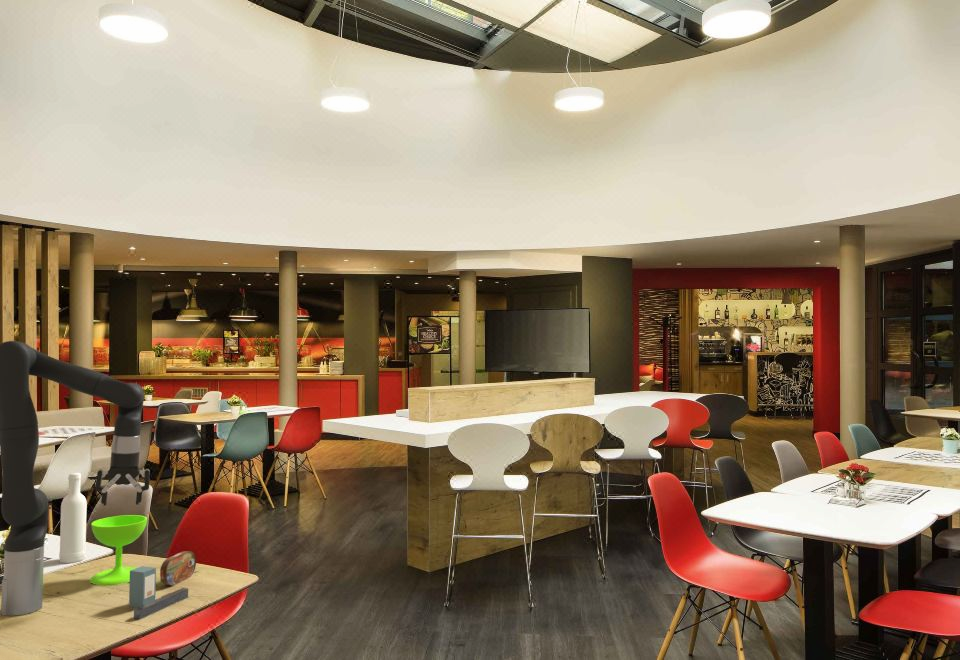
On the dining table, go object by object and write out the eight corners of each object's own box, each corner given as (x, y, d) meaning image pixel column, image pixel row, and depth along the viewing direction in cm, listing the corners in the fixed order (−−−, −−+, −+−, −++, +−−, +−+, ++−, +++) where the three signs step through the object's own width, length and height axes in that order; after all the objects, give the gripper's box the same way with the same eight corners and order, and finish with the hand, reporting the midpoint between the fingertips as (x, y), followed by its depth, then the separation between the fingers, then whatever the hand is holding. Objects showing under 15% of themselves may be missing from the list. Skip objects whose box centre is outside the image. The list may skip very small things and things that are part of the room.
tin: (166, 589, 206) (167, 561, 207) (157, 588, 207) (158, 560, 207) (196, 574, 221) (197, 547, 221) (188, 573, 222) (188, 547, 222)
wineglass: (107, 589, 206) (109, 529, 207) (79, 580, 214) (80, 522, 215) (156, 574, 220) (157, 519, 220) (128, 566, 228) (129, 513, 229)
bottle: (83, 555, 241) (85, 470, 242) (87, 560, 235) (89, 473, 236) (57, 559, 236) (59, 473, 237) (60, 565, 230) (63, 476, 231)
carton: (129, 606, 192) (129, 570, 192) (141, 600, 196) (142, 566, 197) (143, 608, 190) (143, 572, 191) (155, 602, 195) (156, 567, 195)
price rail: (139, 619, 182) (139, 610, 182) (131, 618, 183) (132, 608, 183) (188, 597, 199) (188, 588, 199) (180, 596, 200) (181, 587, 200)
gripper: (152, 448, 208) (148, 501, 208) (100, 447, 202) (95, 502, 202) (151, 452, 201) (146, 507, 201) (97, 452, 195) (92, 508, 195)
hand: (121, 504), depth 201 cm, fingers open, 8 cm apart
